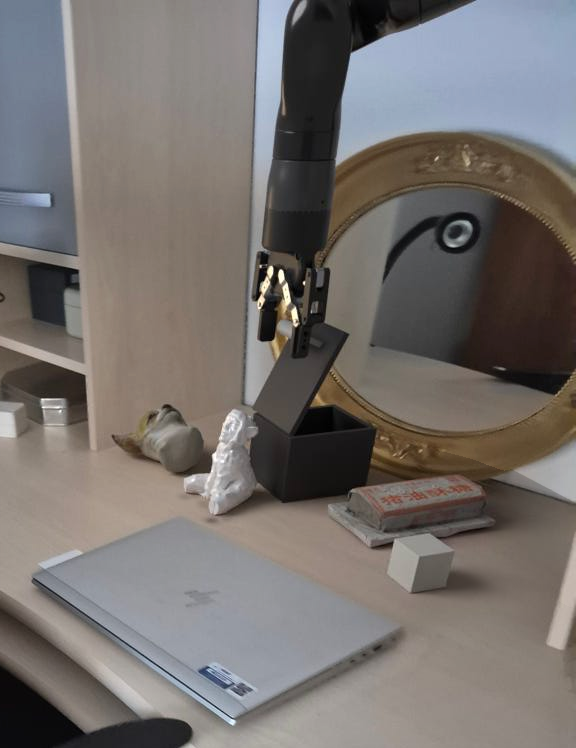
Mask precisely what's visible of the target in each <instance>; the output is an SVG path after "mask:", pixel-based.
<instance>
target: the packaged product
mask: <svg viewBox="0 0 576 748" xmlns="http://www.w3.org/2000/svg"><path fill="white" fill-rule="evenodd" d="M486 496H487V493H486V492H485V490H484V489H483V487H482V486H481V485H480V484H477V483H476V482H473V481H471V480H470V479H469V478H467V477H465V476H463V475H461V474H457V473H456V474H447V475H439V476H432V477H423V478H417V479H410V480H402V481H396V482H395V481H394V482H388V483H381V484H375V485H374V484H373V485H366V487H359V488H355V489H352V490H351V491H349V493H348V494H347V501H344V502H343V501H342V502H337V503H336V502H335V503H329V504H327V515H328V516H329V517H330V518H331V519H333V520H334V521H336V522H337V523H338V524H340V525H341V526H343V527H344V528H345V529H346V530H348V531H349V532H350V533H352V534H353V535H355V536H356V537H357V538H358V539H359V540H360V541H362V542H363V543H364V544H365V545H366V546H367V547H368V548H374V547H378V546H381V545H382V546H383V545H386V544H389V543H394V539H395V538H402V537H408V536H414V535H421V534H427V533H430V534H431V535H433V536H434V537H436V538H447V537H450V536H453V535H454V534H457V533H460V532H467V531H470V530H475V529H481V528H491V527H493V526H495V524H496V520H495V519H494V518H492V517H490V516H488V515H487V514H485V513H483V512H484V511H485V510H486V508H487V505H488V504H487V500H486Z"/></svg>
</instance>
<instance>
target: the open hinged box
mask: <svg viewBox="0 0 576 748" xmlns="http://www.w3.org/2000/svg"><path fill="white" fill-rule="evenodd" d="M252 419H253V422H255V423H256V424H255V427H258V434H257V435H255V437H253V438H251V439H250V444H249V452H248V454H249V457H250V463H251V467H252V468H253V472H254V473H255V477H256V480H257V484H260V486H262V487H263V488H264V489H265V490H266V491H268V492H269V493H270V494H271V495H272V496H273V497H275V498H276V499H277V500H278V501H280V502H281V503H282V504H285V503H291V502H298V501H304V500H311V499H318V498H326V497H327V498H328V497H333V496H341V495H348V493H349V491H351V490H352V489H355V488H359V487H366V486H367V484H368V478H369V474H370V468H371V464H372V458H373V457H372V456H373V452H374V447H375V441H376V437H377V432H378V428H376V427H375V426H374V425H372V424H370V423H368V422H366V421H365V420H363V419H362V418H359V417H358V416H357V415H354V414H353V413H351V412H349V411H348V410H345V409H344V408H342V407H340V406H339V405H336V404H335V403H333V404H324V405H313V406H310V407H309V409H308V411H307V413H306V415H305V416H304V418H303V420H302V422H301V424H300V425H299V427H298V429H297V431H296V433H295V435H294V436H292V435H289V434H288V433H286V432H285V431H284V430H282V429H281V428H279V427H278V426H276V425H275V424H273V423H272V422H270V421H269V420H268V419H266V418H265V417H263V416H262V415H260V414H259V413H257V412H253V415H252Z"/></svg>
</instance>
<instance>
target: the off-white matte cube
mask: <svg viewBox="0 0 576 748" xmlns="http://www.w3.org/2000/svg"><path fill="white" fill-rule="evenodd" d="M390 553H391V555H390V557H389V562H388V567H387V572H386V574H387V576H388V577H389V578H391V579H392V580H393V581H395V582H396V583H397V584H398V585H400V586H401V587H402V588H403V589H404V590H405V591H407V592H408V593H410V594H414V593H419V592H424V591H426V592H427V591H431V590H436V589H442V588H446V586H447V583H448V582H447V581H448V578H449V575H450V571H451V567H452V564H453V560H454V557H455V553H456V550H454V549H453V548H452V547H450V546H449V545H448V544H446V543H444V542H443V541H441V540H440V539H439V538H438V537H434V536H433V535H431V534H430V533H427V534H421V535H414V536H408V537H402V538H395V539H394V541H393V544H392V549H391V552H390Z"/></svg>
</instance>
